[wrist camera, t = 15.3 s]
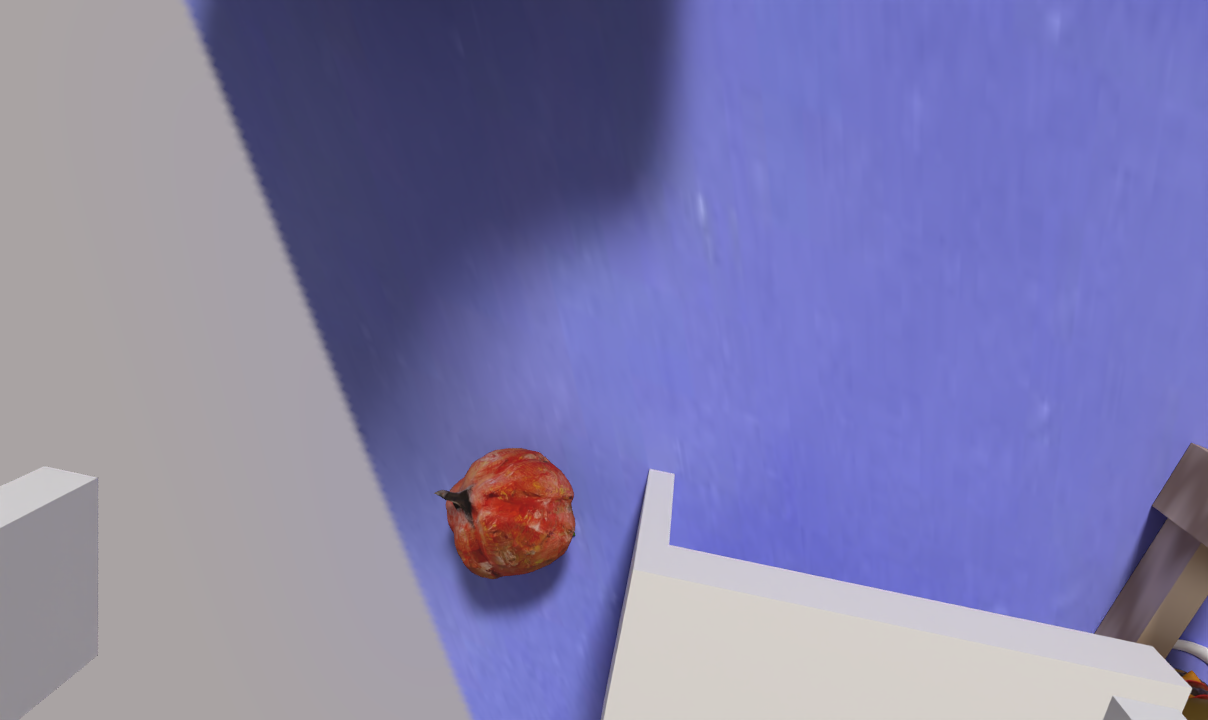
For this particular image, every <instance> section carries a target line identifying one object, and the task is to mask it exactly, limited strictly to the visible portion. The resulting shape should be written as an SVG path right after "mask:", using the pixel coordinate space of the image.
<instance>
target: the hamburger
mask: <svg viewBox="0 0 1208 720" xmlns="http://www.w3.org/2000/svg"><path fill="white" fill-rule="evenodd" d="M1173 649H1177V650H1182V651H1185V652H1188V653H1190V654H1193V655H1195V656H1197V657H1199V658H1200V659H1202V660H1203V661H1205V662H1206V663H1207V664H1208V648H1207V647H1204V646H1202V645H1199V644H1197V643H1194V642H1190V641H1185V640H1180V639H1178V640H1177V642H1176V643H1175V645H1174V646H1173ZM1174 669H1175V668H1174ZM1175 671H1176V672H1177V673H1178V674H1179V675H1180V676H1181V677H1182V678H1183V679H1184V680H1185V681H1186V682H1187V683H1188V684H1189V685H1190V686H1191V687H1192V690H1191V693H1190V695H1189V697H1188V700H1187V702H1186V704H1185V707H1184V709H1183V711H1182V714H1183V716H1184V717H1185V718H1186V719H1187V720H1208V685H1207V684H1206V683H1204V682H1202V681H1201V680H1200V679H1199V678H1198V677H1197V676H1196V674H1195V673H1194V672H1193V671H1192V670H1191V671H1190V672H1188V673H1186V672H1184V671H1182V670H1179V669H1175Z"/></svg>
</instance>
